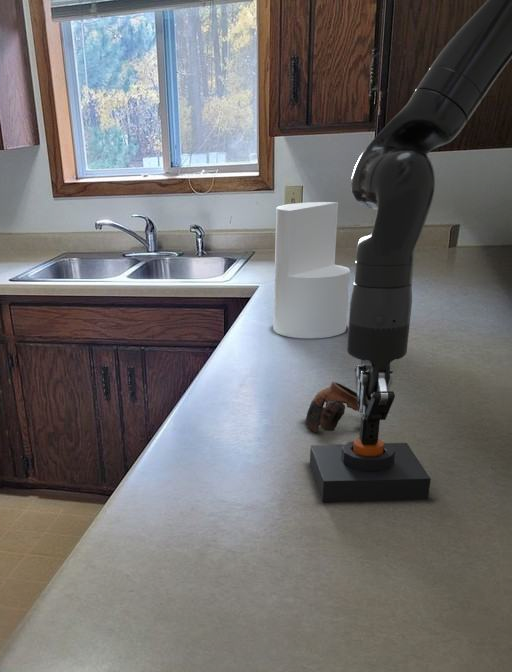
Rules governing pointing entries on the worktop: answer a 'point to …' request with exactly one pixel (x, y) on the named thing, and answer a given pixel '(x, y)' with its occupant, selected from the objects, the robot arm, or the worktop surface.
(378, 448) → the power button
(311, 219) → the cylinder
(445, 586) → the worktop surface
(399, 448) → the push button base
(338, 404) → the broken clay vessel
